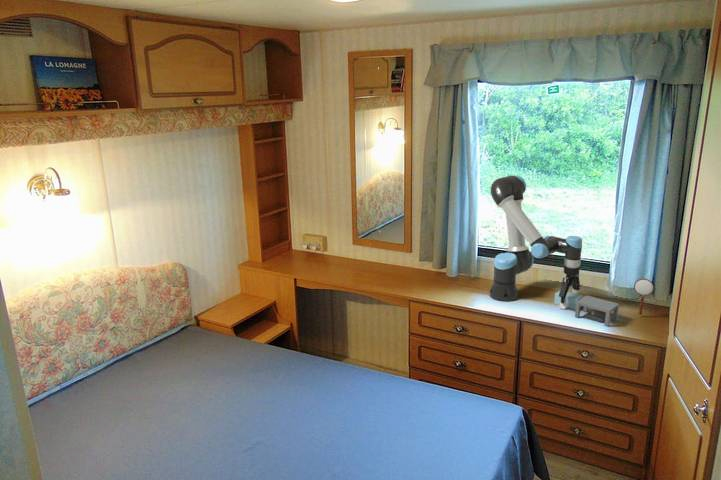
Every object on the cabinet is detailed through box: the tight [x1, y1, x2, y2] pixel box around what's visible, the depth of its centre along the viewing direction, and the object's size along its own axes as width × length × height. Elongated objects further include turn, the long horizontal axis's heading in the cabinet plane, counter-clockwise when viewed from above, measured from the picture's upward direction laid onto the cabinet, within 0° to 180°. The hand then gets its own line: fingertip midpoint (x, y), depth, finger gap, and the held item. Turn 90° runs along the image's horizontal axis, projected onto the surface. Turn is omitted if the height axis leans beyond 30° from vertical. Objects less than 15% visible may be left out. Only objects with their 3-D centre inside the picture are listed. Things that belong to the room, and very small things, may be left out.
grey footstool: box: [574, 295, 620, 328], centre depth 260 cm, size 16×12×8 cm
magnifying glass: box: [633, 278, 655, 317], centre depth 259 cm, size 9×2×20 cm, turn 57°
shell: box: [553, 290, 584, 311], centre depth 276 cm, size 12×7×6 cm, turn 45°
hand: (568, 304), depth 277 cm, fingers open, 12 cm apart
